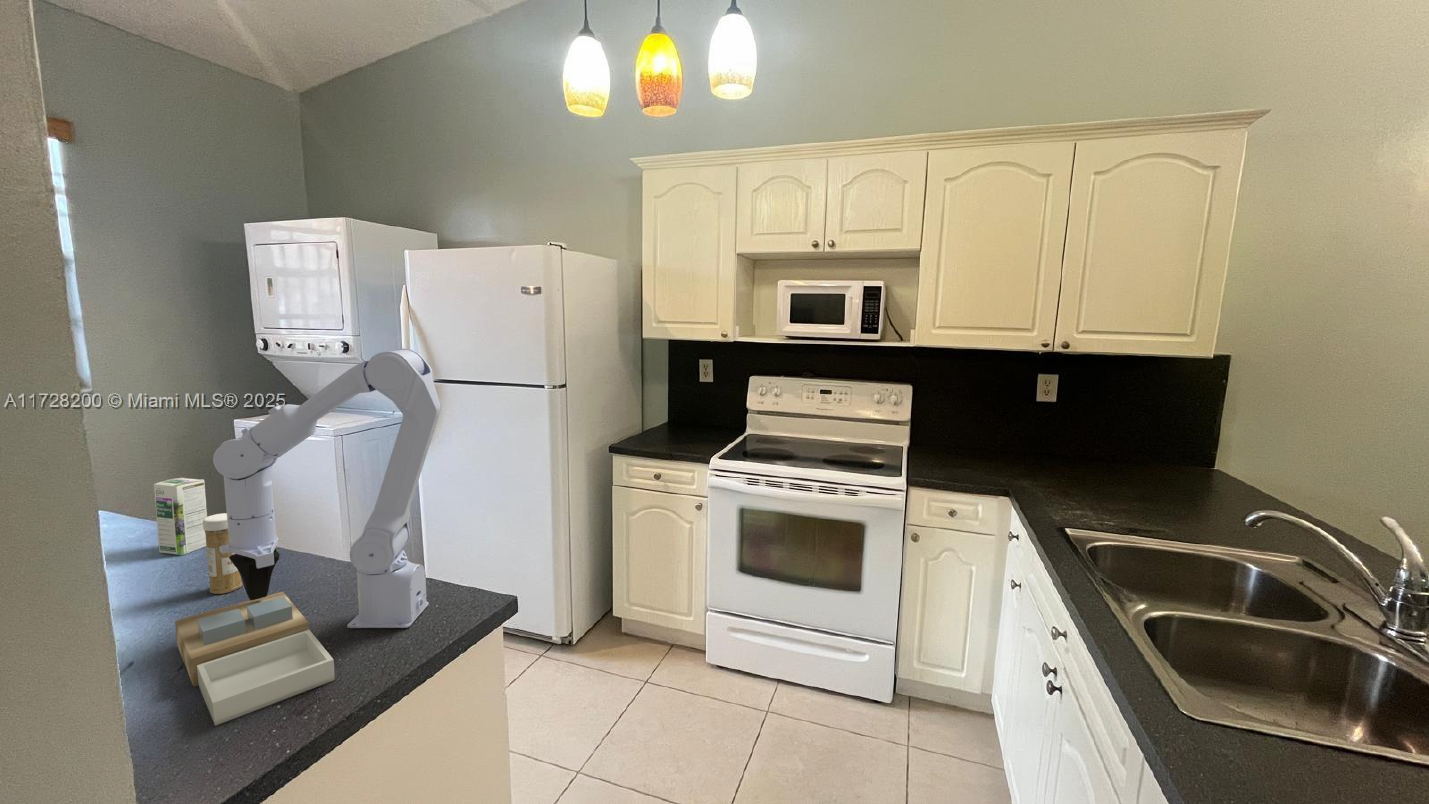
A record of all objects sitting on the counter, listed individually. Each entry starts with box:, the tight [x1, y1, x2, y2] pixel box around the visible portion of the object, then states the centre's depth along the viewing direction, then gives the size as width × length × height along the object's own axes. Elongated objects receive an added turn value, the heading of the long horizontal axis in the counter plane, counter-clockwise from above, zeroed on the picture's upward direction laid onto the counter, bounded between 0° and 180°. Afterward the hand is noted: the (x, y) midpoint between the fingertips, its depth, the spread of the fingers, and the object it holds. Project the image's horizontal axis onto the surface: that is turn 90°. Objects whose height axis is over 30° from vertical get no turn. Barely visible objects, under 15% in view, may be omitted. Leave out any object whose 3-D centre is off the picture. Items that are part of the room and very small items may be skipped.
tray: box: [197, 629, 336, 727], centre depth 77 cm, size 11×12×3 cm
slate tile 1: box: [197, 609, 246, 645], centre depth 82 cm, size 4×4×2 cm
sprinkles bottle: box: [203, 512, 243, 595], centre depth 102 cm, size 5×5×13 cm
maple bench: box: [174, 591, 310, 688], centre depth 85 cm, size 14×13×4 cm
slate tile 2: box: [247, 596, 293, 630], centre depth 86 cm, size 4×4×2 cm
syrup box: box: [153, 477, 208, 556], centre depth 118 cm, size 6×6×14 cm
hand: (257, 597), depth 91 cm, fingers closed
